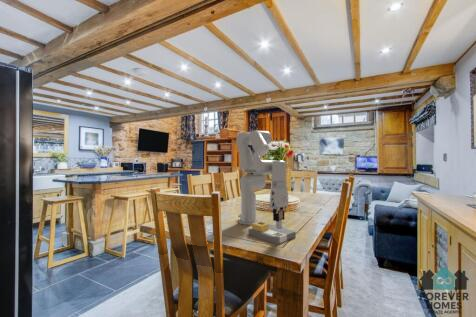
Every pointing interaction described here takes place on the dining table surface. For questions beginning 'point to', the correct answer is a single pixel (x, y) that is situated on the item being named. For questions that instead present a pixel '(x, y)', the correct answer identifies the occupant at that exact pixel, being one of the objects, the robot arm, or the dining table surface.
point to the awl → (279, 223)
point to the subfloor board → (273, 234)
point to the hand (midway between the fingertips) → (278, 219)
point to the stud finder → (260, 226)
